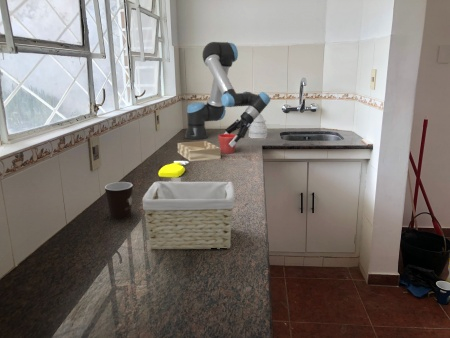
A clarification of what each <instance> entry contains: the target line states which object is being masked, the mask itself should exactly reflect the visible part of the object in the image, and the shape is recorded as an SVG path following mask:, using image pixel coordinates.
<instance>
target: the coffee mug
mask: <svg viewBox="0 0 450 338" xmlns="http://www.w3.org/2000/svg"><path fill="white" fill-rule="evenodd" d="M133 185H134V184H132V182H126V181H118V182H112V183H111V182H110V183H107V184H106V185H105V186H104V190H105V196H106V199H107V205H108V209H109V215H110V217H111V219H116V220H121V219H127V218H129V217H130V216H131V215H132V206H133V205H132V202H133Z"/></svg>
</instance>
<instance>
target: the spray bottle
mask: <svg viewBox="0 0 450 338" xmlns="http://www.w3.org/2000/svg"><path fill="white" fill-rule="evenodd" d="M189 163H190V161H189V160H188V161H187V160H174V161H173V163H170V164H166V165H164V166H162V167H161V168H160V169H159V170H158V177H159V178H179V176H180V177H181V176H182V175H183V174H184V173H185V171H186V168H185V167H184V166H186V165H188V164H189ZM183 165H184V166H183Z"/></svg>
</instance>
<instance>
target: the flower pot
mask: <svg viewBox="0 0 450 338" xmlns="http://www.w3.org/2000/svg"><path fill="white" fill-rule="evenodd" d="M236 135H237V134H232V133H230V134H224V133H223V134H218V144H219V148H221V154H225V155H226V154H233V153H235V150H236V144H237V143H236V144H235V145H234V146H233V147H231V146H230V145H229V143H230V142H231V141H232V140H233V139H234V137H235V136H236Z"/></svg>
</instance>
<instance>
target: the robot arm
mask: <svg viewBox="0 0 450 338" xmlns="http://www.w3.org/2000/svg"><path fill="white" fill-rule="evenodd" d="M238 52H239V51H238V47H237V46H236V45H235V44H234V43H232V42H228V41H227V42H226V41H225V42H224V41H223V42H222V41H210V42H209V43H207V44H206V45H205V46H204V48H203V50H202V54H201V55H202V60H203V63H204V65H205V66H206V67H208V69H209V71H210V73H211V75H212V84H211V85H212V86H211V90H210V95H209V98H208V99H207V100H206V103H205V102H192V103H191V104H188V105H187V107H186V109H187V110H186V113H187V128H186V130H185V135H184V136H185V137H184V138H185V139H188V140H204V139H208V132H207V129H206V122H217V121H221V120H223V119H224V118H225V116H226V108H236V107H237V108H238V107H246V109H245V111H244V112H243V113H241V115H240V119H238V118H237V119H236V120H235V121H234V122H232V124H230V125H229V126H228V127H226V129H224V130H225V132H224V133H223V134H232V133H234V132H235V131H236V130H238V132H237V134H235V135H236V136H235V137H234V139H233V140H232V141H231V142H230V143H229V145H230V146H231V147H233V146H234V145H235V144H237V143H238V141H239V140H240V139H244V138H245V136H246V134H247V133H248V131H249V129H250V125H251V123H252V122H253V121H254V119H256V117H258V115H259V114H261V113H262V112H263V111H264V110H265V108H266V107H267V106H268V105H269V104H270V102H271V97H270V96H269V94H267V93H266V92H264V91H261V92H259V93H258V94H256V93H253V92H250V91H243V92H241V93H240V92H239V93H237V92H236V90H235V88H234V87H233V85H232V83H231V81H230V79H229V77H228V76H229V75H228V74H229V69H230V68H231V67H232V66H233V63H235V62H236V61H237V60H238V55H239V53H238Z"/></svg>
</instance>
